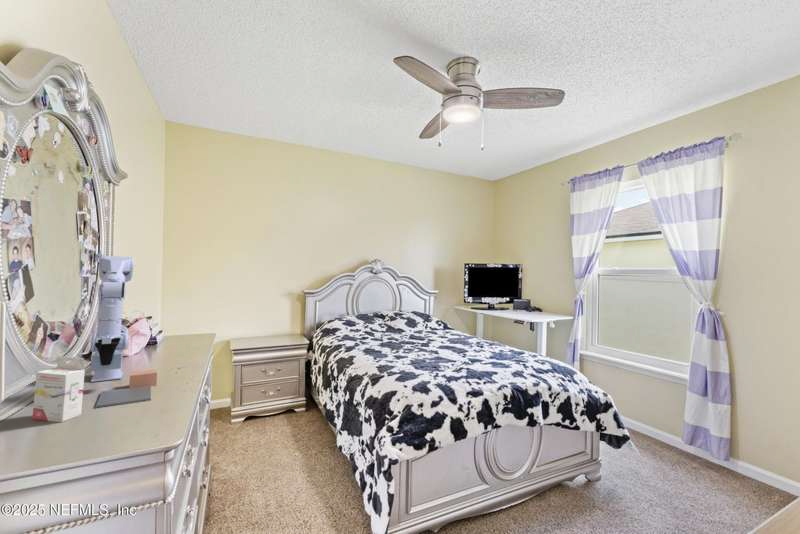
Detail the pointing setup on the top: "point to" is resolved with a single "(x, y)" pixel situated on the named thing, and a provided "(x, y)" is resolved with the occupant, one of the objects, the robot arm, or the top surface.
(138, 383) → the upper brick
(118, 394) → the baseplate
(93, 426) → the top surface
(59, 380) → the ink cartridge box
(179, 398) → the top surface
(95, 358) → the lower brick
